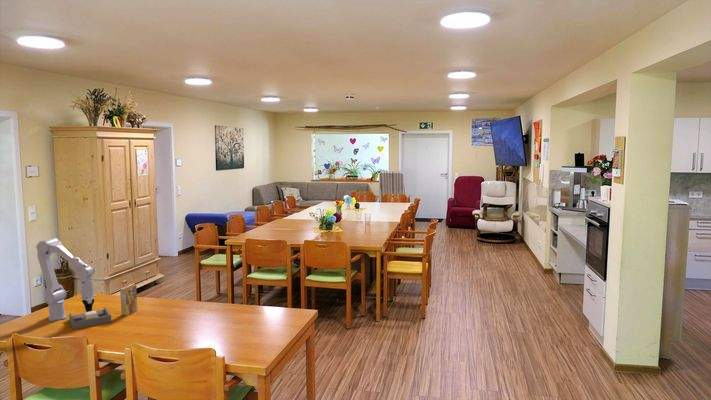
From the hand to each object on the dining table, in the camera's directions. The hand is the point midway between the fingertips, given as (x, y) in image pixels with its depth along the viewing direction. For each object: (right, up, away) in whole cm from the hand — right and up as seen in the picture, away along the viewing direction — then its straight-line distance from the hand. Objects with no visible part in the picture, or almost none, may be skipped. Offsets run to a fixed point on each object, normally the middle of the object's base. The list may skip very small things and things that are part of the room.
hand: (88, 312), depth 268 cm
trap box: (+1, -4, -1) cm, 4 cm away
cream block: (+4, -2, -6) cm, 8 cm away
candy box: (+17, -3, +11) cm, 21 cm away
